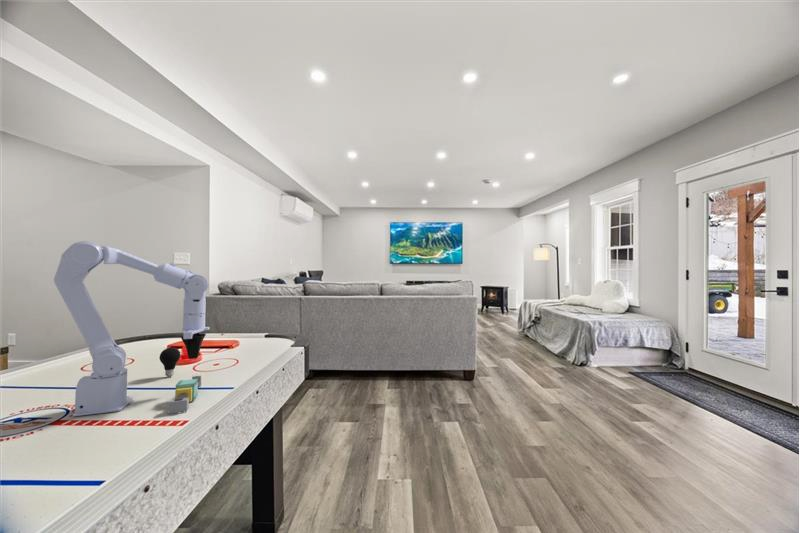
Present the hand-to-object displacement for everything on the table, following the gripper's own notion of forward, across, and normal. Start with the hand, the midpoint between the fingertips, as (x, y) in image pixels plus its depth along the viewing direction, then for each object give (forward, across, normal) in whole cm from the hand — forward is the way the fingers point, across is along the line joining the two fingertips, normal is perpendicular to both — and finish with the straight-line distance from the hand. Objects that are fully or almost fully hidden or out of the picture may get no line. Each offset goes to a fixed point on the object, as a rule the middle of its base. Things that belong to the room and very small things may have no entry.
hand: (193, 358), depth 95 cm
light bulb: (+10, +18, +11) cm, 23 cm away
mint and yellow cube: (+10, -8, 0) cm, 13 cm away
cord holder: (+10, -6, 0) cm, 12 cm away
